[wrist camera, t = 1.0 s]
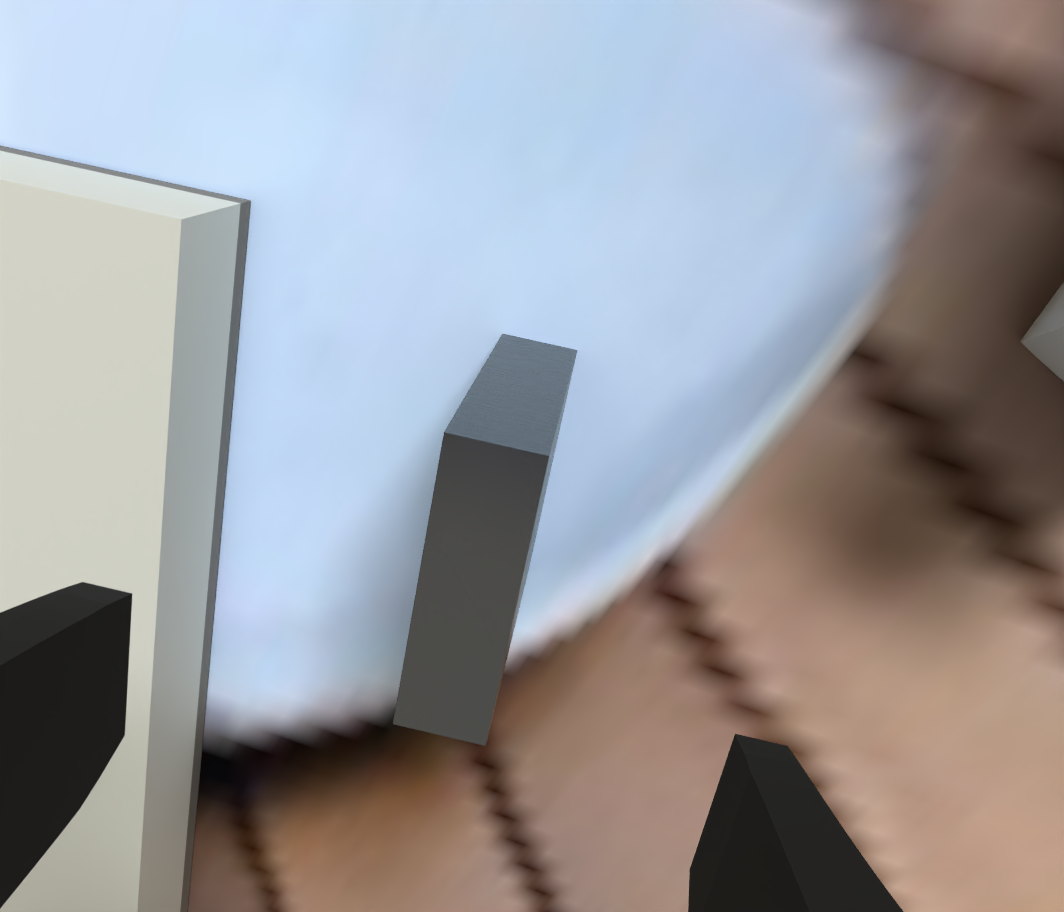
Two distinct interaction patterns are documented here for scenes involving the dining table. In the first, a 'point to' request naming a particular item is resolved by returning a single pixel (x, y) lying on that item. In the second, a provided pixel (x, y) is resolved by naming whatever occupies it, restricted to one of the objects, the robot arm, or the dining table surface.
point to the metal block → (482, 538)
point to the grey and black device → (1049, 335)
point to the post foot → (120, 481)
